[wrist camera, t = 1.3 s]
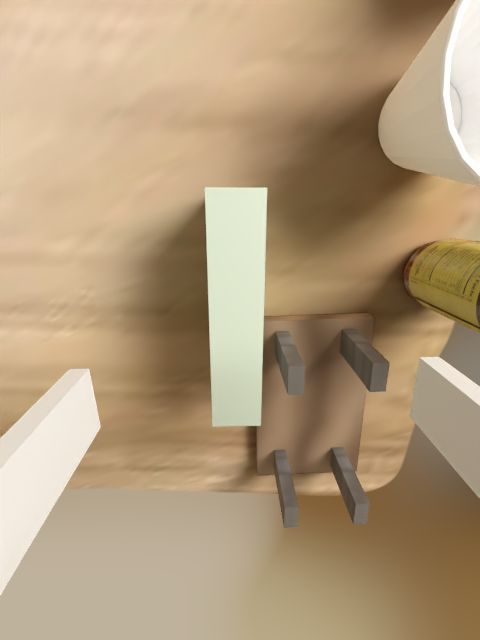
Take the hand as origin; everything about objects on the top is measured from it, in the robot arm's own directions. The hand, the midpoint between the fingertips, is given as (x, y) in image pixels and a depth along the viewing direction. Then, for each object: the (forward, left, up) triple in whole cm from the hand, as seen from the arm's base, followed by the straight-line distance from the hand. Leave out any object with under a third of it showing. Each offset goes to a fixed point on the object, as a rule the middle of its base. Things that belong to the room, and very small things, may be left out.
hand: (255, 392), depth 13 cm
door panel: (-1, 0, -18) cm, 18 cm away
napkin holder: (+7, -12, -18) cm, 23 cm away
